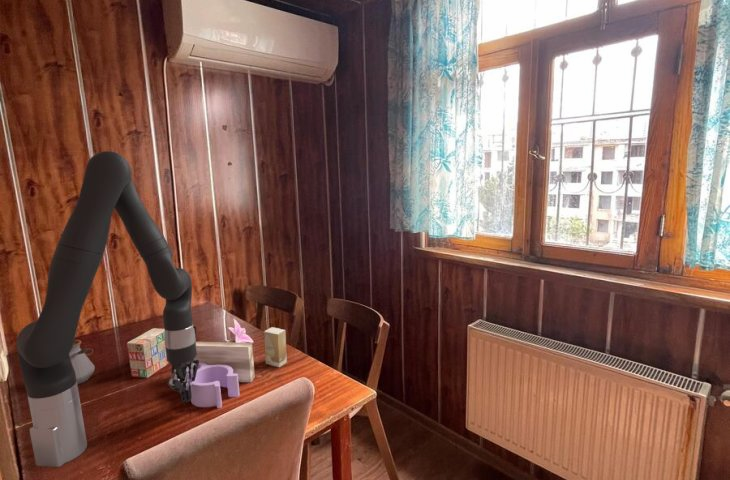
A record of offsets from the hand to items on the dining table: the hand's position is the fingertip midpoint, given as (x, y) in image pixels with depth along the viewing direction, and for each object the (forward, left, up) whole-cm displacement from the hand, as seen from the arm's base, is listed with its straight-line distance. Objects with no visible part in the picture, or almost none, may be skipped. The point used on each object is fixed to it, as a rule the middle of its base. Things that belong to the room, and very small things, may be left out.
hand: (186, 400), depth 111 cm
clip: (+10, 0, -4) cm, 11 cm away
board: (+19, 0, -4) cm, 19 cm away
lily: (+43, +3, -4) cm, 43 cm away
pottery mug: (+51, +31, -4) cm, 60 cm away
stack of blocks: (+29, +27, -4) cm, 39 cm away
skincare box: (+30, -15, -4) cm, 34 cm away
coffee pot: (+12, +44, -4) cm, 45 cm away
